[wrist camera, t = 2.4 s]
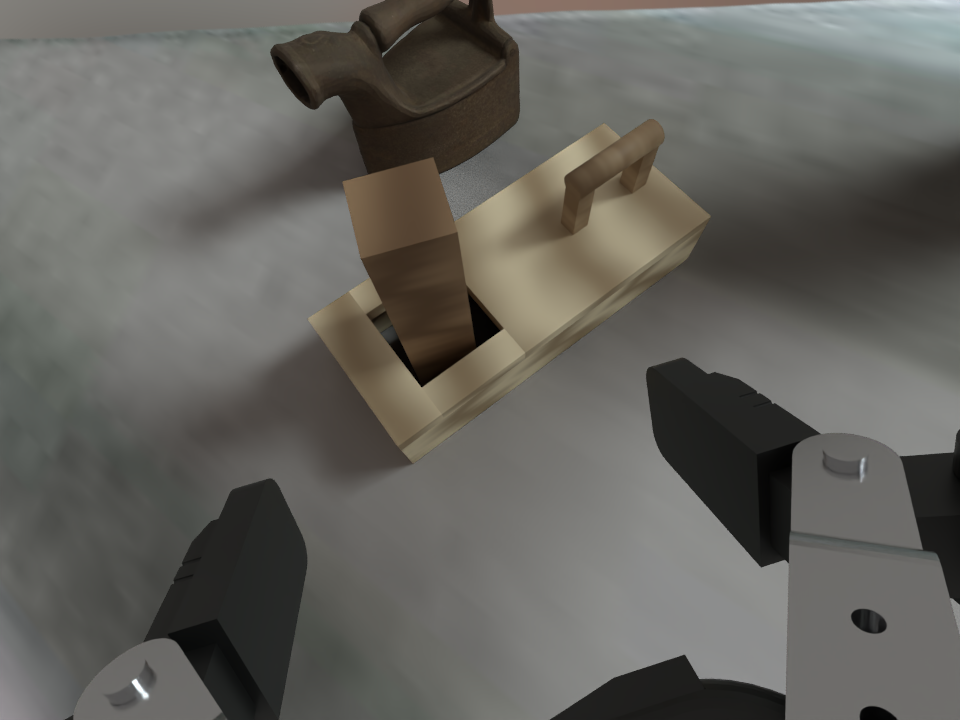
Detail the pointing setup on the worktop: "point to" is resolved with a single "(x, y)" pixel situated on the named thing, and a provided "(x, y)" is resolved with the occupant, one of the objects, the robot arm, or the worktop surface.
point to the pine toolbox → (527, 280)
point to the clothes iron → (412, 80)
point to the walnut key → (414, 262)
